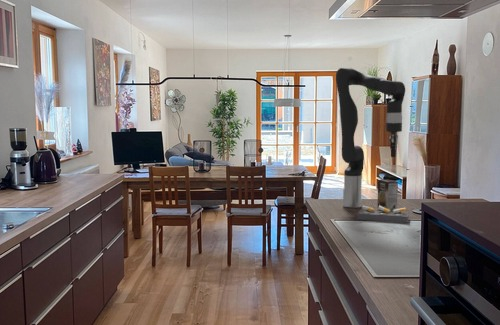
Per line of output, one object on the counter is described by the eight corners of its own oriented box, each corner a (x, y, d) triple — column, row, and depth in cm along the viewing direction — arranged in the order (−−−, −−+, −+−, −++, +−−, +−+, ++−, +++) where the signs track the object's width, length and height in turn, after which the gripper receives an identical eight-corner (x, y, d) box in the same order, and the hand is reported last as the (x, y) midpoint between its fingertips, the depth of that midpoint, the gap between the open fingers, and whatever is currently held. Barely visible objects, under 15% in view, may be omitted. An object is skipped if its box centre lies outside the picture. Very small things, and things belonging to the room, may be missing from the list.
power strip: (357, 219, 228) (357, 212, 228) (359, 215, 237) (360, 209, 236) (407, 223, 220) (407, 216, 220) (408, 219, 228) (408, 212, 228)
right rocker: (394, 214, 227) (393, 211, 227) (394, 213, 230) (393, 209, 230) (405, 212, 225) (404, 208, 225) (406, 210, 228) (405, 207, 228)
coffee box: (376, 209, 251) (377, 179, 249) (387, 209, 253) (387, 179, 251) (386, 213, 242) (387, 181, 241) (397, 212, 244) (398, 181, 243)
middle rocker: (377, 209, 230) (378, 206, 229) (378, 208, 233) (379, 205, 232) (388, 214, 228) (389, 211, 227) (388, 213, 231) (390, 209, 231)
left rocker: (361, 209, 232) (362, 206, 232) (362, 208, 236) (363, 204, 235) (372, 213, 230) (373, 209, 230) (373, 211, 234) (374, 208, 234)
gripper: (387, 121, 243) (386, 155, 245) (384, 122, 231) (384, 157, 233) (402, 121, 240) (402, 156, 242) (401, 122, 228) (400, 158, 230)
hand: (393, 156), depth 237 cm, fingers closed
